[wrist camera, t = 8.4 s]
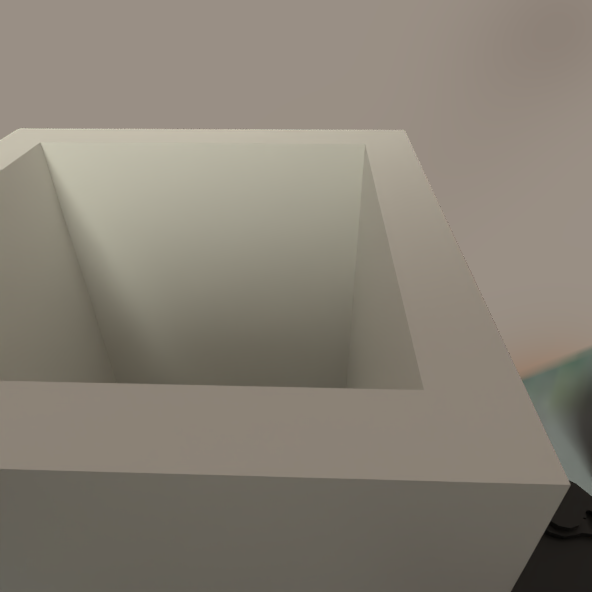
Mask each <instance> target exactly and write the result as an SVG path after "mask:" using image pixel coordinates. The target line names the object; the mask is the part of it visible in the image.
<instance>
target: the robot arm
mask: <svg viewBox="0 0 592 592" xmlns="http://www.w3.org/2000/svg"><path fill="white" fill-rule="evenodd" d="M569 482H570V487H569V489H568V491H567V493H566V494H565V496H564V498H563V500H562V501H561V503H560V505H559V507H558V509H557V510H556V512H555V514H554V516H553V517H552V519H551V521H550V523H549V525H548V526H547V528H546V530H545V532H544V533H543V535H542V537H541V539H540V541H539V542H538V544H537V546H536V548H535V550H534V551H533V553H532V555H531V557H530V558H529V560H528V562H527V564H526V566H525V567H524V569H523V571H522V573H521V574H520V576H519V578H518V580H517V582H516V583H515V585H514V587H513V589H512V590H511V592H592V496H591V495H589V494H588V493H587V492H586V491H584V490H583V489H582V488H581V487H579V486H578V485H577V484H575V483H573V482H571V481H569Z"/></svg>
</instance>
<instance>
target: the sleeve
mask: <svg viewBox="0 0 592 592" xmlns="http://www.w3.org/2000/svg"><path fill="white" fill-rule="evenodd" d="M569 487H570V482H569V480H568V478H567V476H566V474H565V472H564V470H563V467H562V465H561V463H560V461H559V459H558V457H557V455H556V452H555V450H554V448H553V446H552V444H551V442H550V440H549V438H548V435H547V433H546V431H545V429H544V427H543V425H542V423H541V420H540V418H539V416H538V414H537V412H536V410H535V408H534V406H533V403H532V401H531V399H530V397H529V395H528V393H527V391H526V388H525V386H524V384H523V382H522V380H521V378H520V376H519V374H518V371H517V369H516V367H515V365H514V363H513V361H512V359H511V356H510V354H509V352H508V350H507V348H506V346H505V344H504V342H503V339H502V337H501V335H500V333H499V331H498V329H497V327H496V324H495V322H494V320H493V318H492V316H491V314H490V312H489V310H488V307H487V305H486V303H485V301H484V299H483V297H482V295H481V293H480V290H479V288H478V286H477V284H476V282H475V280H474V277H473V275H472V273H471V271H470V269H469V267H468V265H467V263H466V261H465V258H464V256H463V254H462V252H461V250H460V248H459V245H458V243H457V241H456V239H455V237H454V235H453V233H452V231H451V229H450V226H449V224H448V222H447V220H446V218H445V216H444V214H443V211H442V209H441V207H440V205H439V203H438V201H437V199H436V197H435V194H434V192H433V190H432V188H431V186H430V184H429V181H428V180H427V177H426V175H425V173H424V171H423V169H422V167H421V164H420V162H419V160H418V158H417V156H416V154H415V152H414V150H413V147H412V145H411V143H410V141H409V139H408V137H407V134H406V132H405V130H262V129H261V130H258V129H255V130H254V129H253V130H250V129H249V130H248V129H245V130H244V129H240V130H239V129H34V128H33V129H32V128H31V129H30V128H28V129H27V128H19V129H17V130H15V131H14V132H12V133H11V134H9V135H7V136H6V137H4V138H3V139H1V140H0V592H511V590H512V589H513V587H514V585H515V583H516V582H517V580H518V578H519V576H520V574H521V573H522V571H523V569H524V567H525V566H526V564H527V562H528V560H529V558H530V557H531V555H532V553H533V551H534V550H535V548H536V546H537V544H538V542H539V541H540V539H541V537H542V535H543V533H544V532H545V530H546V528H547V526H548V525H549V523H550V521H551V519H552V517H553V516H554V514H555V512H556V510H557V509H558V507H559V505H560V503H561V501H562V500H563V498H564V496H565V494H566V493H567V491H568V489H569Z"/></svg>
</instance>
